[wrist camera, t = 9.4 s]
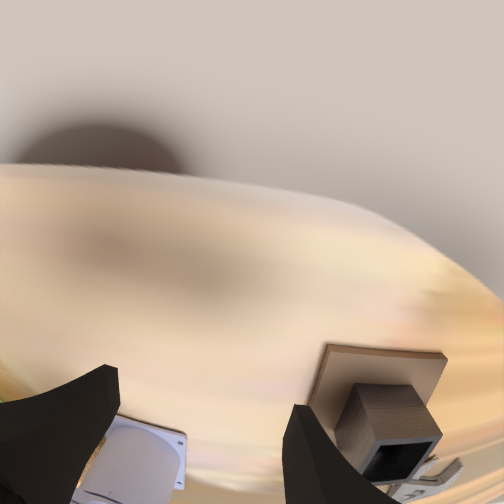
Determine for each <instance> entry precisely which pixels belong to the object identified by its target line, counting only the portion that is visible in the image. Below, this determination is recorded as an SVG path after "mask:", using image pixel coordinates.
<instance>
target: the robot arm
mask: <svg viewBox="0 0 504 504" xmlns="http://www.w3.org/2000/svg"><path fill="white" fill-rule="evenodd" d="M119 406H120V393H119V381H118V368H115V367H112V366H109V365H106V364H104V365H102V366H100V367H98V368H96V369H94V370H92V371H90V372H88V373H86V374H85V375H83V376H81V377H79V378H77V379H75V380H73V381H71V382H69V383H67V384H64V385H62V386H60V387H57V388H55V389H53V390H50V391H48V392H45V393H42V394H39V395H36V396H33V397H29V398H25V399H21V400H16V401H10V402H4V403H0V504H169V503H170V500H171V496H172V493H173V490H174V488H175V489H179V490H183V489H184V487H185V466H186V447H187V437H186V436H185V435H184V434H182V433H177V432H173V431H169V430H166V429H162V428H158V427H154V426H151V425H147V424H144V423H141V422H137V421H134V420H131V419H128V418H125V417H121V416H118V415H116V413H117V411H118V409H119ZM104 435H105V437H106V441H105V443H104V445H103V446H102V448H101V450H100V451H99V453H98V455H97V456H96V458H95V460H94V462H93V463H92V465H91V467H90V468H89V470H88V472H87V474H86V475H85V477H84V479H83V480H82V482H81V484H80V486H79V487H78V488H76V486H77V484H78V481H79V479H80V477H81V474H82V472H83V470H84V468H85V466H86V464H87V462H88V460H89V458H90V457H91V455H92V453H93V452H94V450H95V449H96V447H97V446H98V444H99V443H100V441H101V439H102V438H103V436H104ZM180 441H181V442H180ZM282 465H283V476H284V487H285V498H286V504H402V503H400V502H398V501H396V500H395V499H393V498H391V497H390V496H388V495H386V494H385V493H383V492H382V491H381V490H379V489H378V488H377V487H375V486H374V485H373V484H371V483H370V482H369V481H368V480H366V479H365V478H364V477H363V476H362V475H361V474H360V473H359V472H358V471H357V470H356V469H355V468H354V467H353V466H352V465H351V464H350V463H349V462H348V461H347V460H346V459H345V457H344V456H343V455H342V454H341V453H340V451H339V450H338V449H337V447H336V446H335V445H334V443H333V442H332V440H331V439H330V438H329V436H328V435H327V433H326V432H325V430H324V429H323V427H322V425H321V424H320V422H319V420H318V419H317V417H316V415H315V414H314V412H313V410H312V409H311V407H310V406H306V405H296V404H294V407H293V410H292V413H291V416H290V419H289V422H288V425H287V428H286V431H285V434H284V437H283V448H282Z"/></svg>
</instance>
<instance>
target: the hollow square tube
mask: <svg viewBox="0 0 504 504" xmlns="http://www.w3.org/2000/svg"><path fill="white" fill-rule="evenodd" d="M334 435H335V439H336V444H337V448H338V450H339V451H340V453H341V454H342V455H343V456H344V457H345V459H346V460H347V461H348V462H349V463H350V464H351V465H352V466H353V467H354V468H355V469H356V470H357V471H358V472H359V473H360V474H361V475H362V476H363V477H364V478H365V479H366V480H368V481H369V482H370V483H371V484H373V485H374V486H380V485H390V484H398V483H406V482H409V481H410V480H411V479H412V478H413V476H414V475H415V474H416V472H417V471H418V470H419V468H420V467H421V466H422V464H423V463H424V462H425V460H426V459H427V458H428V456H429V455H430V453H431V452H432V451H433V449H434V448H435V446H436V445H437V443H438V442H439V440H440V439H441V437H442V436H443V434H442V432H441V431H440V429H439V427H438V426H437V424H436V422H435V421H434V419H433V417H432V416H431V414H430V413H429V411H428V409H427V408H426V406H425V404H424V403H423V401H422V400H421V398H420V397H419V395H418V393H417V392H416V390H415V389H414V387H413V386H412V385H392V384H369V383H354V385H353V387H352V390H351V392H350V395H349V397H348V399H347V402H346V404H345V407H344V409H343V411H342V413H341V416H340V418H339V420H338V422H337V425H336V427H335V429H334Z"/></svg>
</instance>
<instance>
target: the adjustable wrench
mask: <svg viewBox="0 0 504 504" xmlns="http://www.w3.org/2000/svg"><path fill="white" fill-rule="evenodd" d="M438 460H439V458H438V457H437V458H435V459H432V460H430V461H428V462H426V463H424V464H422V466H421V467H420V468H419V470H418V471H417V472H416V474H415V475H414V476H413V478H412V479H411V480H410V481H409V482H406V483H398V484H391V485H392V486H391V488H390V491H389V493H388V494H387V495H388V496H390V497H391V498H393V499H395V500H396V501H398V502H400V503H402V504H405V503H408V502H411V501H414V500H418V499H422V498H425V497H429V496H432V495H436V494H438V493H440V492H442V491H443V490H445V489H446V488H447V487H449V486H450V485H451V484H452V483H453V482H454V481H455V480H456V479H457V477H458V476H459V474H460V473H461V471H462V470H463V468H464V466H463V464H462V463H461V461H460V459H459V458H457V459H456V460H455V461H454V462H453V463H452V464H451V465H450V466H449V467H448V468H447V469H446V470H445V471H444V472H443V473H441V474H440V475H439V476H436V477H433V478H432V477H422V475H423V474H424V473H425V472H426V471H427V470H428V469H429V468H430V467H431V466H432V465H434V464H435V463H436V462H437V461H438Z"/></svg>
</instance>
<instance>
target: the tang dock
mask: <svg viewBox="0 0 504 504" xmlns="http://www.w3.org/2000/svg"><path fill="white" fill-rule="evenodd" d="M447 361H448V359H447V358H446V357H445V356H444V354H441V353H420V352H404V351H390V350H378V349H367V348H357V347H347V346H338V345H329V344H328V346H327V350H326V353H325V356H324V359H323V362H322V366H321V369H320V372H319V375H318V378H317V381H316V384H315V387H314V390H313V393H312V396H311V399H310V401H309V404H308V406H310V407H311V409H312V410H313V412H314V414H315V415H316V417H317V419H318V420H319V422H320V424H321V425H322V427H323V429H324V430H325V432H326V433H327V435H328V436H329V438H330V439H331V440H332V442H333V443H334V445H335V446H336V447H337V444H336V439H335V435H334V429H335V427H336V425H337V422H338V420H339V418H340V416H341V413H342V411H343V409H344V407H345V404H346V402H347V399H348V397H349V395H350V392H351V390H352V387H353V385H354V383H369V384H392V385H412V386H413V387H414V389H415V390H416V392H417V393H418V395H419V397H420V398H421V400H422V401H423V403H424V404H425V406H426V405H427V403H428V401H429V399H430V397H431V395H432V393H433V391H434V389H435V387H436V385H437V383H438V381H439V379H440V377H441V374H442V372H443V370H444V368H445V366H446V364H447ZM337 449H338V448H337Z"/></svg>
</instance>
